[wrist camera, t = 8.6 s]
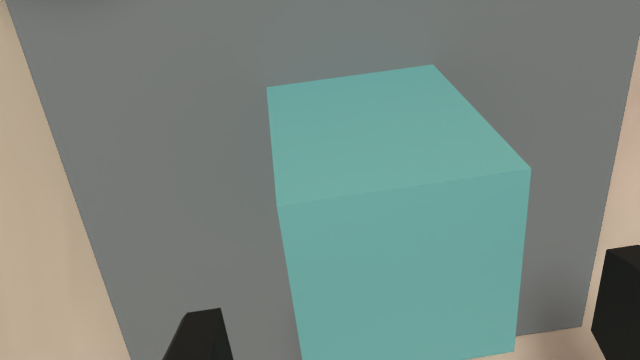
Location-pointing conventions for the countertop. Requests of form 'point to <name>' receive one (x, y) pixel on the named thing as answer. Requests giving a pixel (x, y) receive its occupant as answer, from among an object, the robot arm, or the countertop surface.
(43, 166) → the countertop surface
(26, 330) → the countertop surface
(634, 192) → the countertop surface
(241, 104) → the mat
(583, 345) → the countertop surface
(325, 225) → the teal block
